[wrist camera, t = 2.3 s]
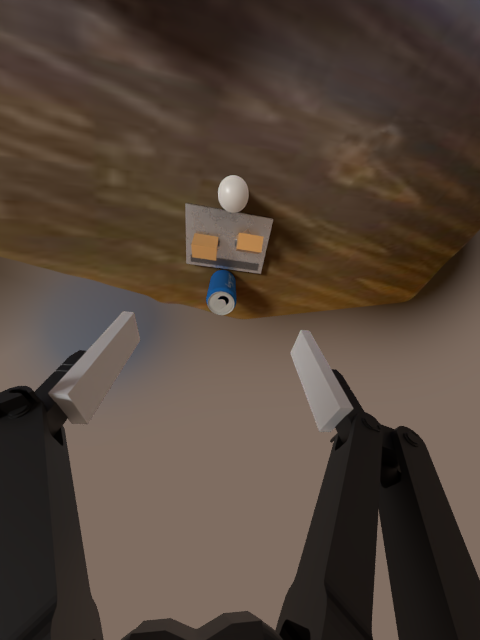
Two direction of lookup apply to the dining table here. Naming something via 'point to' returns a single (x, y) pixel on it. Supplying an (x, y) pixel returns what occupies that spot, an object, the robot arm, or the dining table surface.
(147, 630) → the robot arm
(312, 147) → the dining table surface
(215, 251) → the paddle
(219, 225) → the breaker plate
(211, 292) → the beverage can
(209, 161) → the dining table surface
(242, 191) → the white rounded smooth part
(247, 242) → the paddle
